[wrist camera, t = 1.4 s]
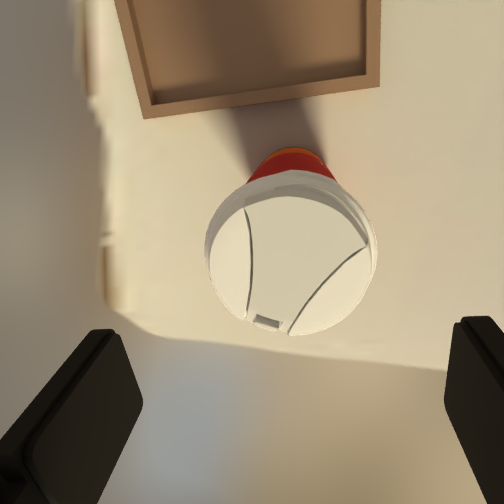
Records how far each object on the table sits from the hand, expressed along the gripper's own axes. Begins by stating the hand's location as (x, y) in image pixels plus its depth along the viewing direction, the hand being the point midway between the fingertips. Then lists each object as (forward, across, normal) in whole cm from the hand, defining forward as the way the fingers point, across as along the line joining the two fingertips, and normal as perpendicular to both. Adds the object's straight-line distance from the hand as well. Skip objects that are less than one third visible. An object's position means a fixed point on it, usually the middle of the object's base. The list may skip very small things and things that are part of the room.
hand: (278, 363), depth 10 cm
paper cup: (+20, 0, 0) cm, 20 cm away
